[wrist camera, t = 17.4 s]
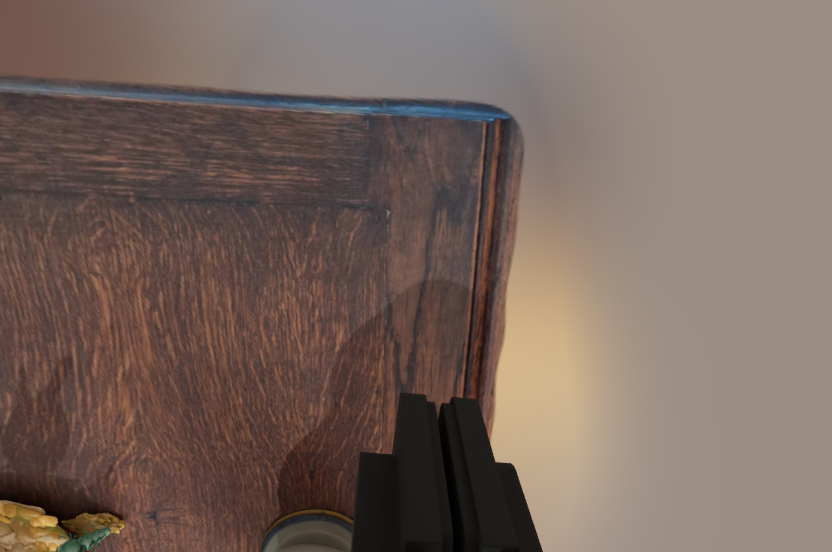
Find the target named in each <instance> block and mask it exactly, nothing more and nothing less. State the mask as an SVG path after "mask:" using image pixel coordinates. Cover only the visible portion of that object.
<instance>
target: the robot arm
mask: <svg viewBox="0 0 832 552" xmlns="http://www.w3.org/2000/svg"><path fill="white" fill-rule="evenodd" d="M350 552H543V551H542V548H541V545H540V542H539V539H538V536H537V533H536V530H535V527H534V524H533V521H532V518H531V514H530V511H529V509H528V506H527V502H526V499H525V496H524V494H523V491H522V487H521V484H520V482H519V479H518V476H517V472H516V470H515V467H514V466H513V465H512V464H511V463H498V462H495V459H494V456H493V452H492V448H491V445H490V441H489V438H488V434H487V431H486V427H485V424H484V420H483V417H482V413H481V410H480V406H479V403H478V400H477V399H469V398H458V397H452V398H451V400H450V404H449V403H442V404H441V407H440V413H439V419H438V420H437V413H436V406H435V402H427V400H426V395H422V394H411V393H400V397H399V404H398V412H397V420H396V427H395V435H394V442H393V450H392V454H379V453H366V452H360V458H359V468H358V477H357V486H356V496H355V506H354V516H353V527H352V538H351V549H350Z"/></svg>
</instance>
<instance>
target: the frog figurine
mask: <svg viewBox="0 0 832 552" xmlns="http://www.w3.org/2000/svg"><path fill="white" fill-rule="evenodd" d="M45 515H46V513H45V511H44V510H43V509H42V508H40V507H36V506H28V505H24V504H19V503H15V502H11V501H7V500H3V501H1V500H0V552H88V551H86V550H87V549H88V550H89V549H90V548H91V547H92V546H93V545H94V544H97V543H98V542H99V541H102V539H104V538H105V537H106V536H108V535H109V534H111V533H120V531H119V530H118V529H122V528H123V527H125V526H124V525H125V522H123V521H121V520H119V519H118V517H115V516H112V515H111V514H109V513H102V514H88V513H83V514H82V515H79V516H76V518H75V519H69V520H65V521H61V522H62V523H63V524H66V525H62V526H63V527H66V528H69V531H71V532H77V533H78V534H80V535H78V534H77V535H78V537H79V539H71V533H69V534H70V538H69V536H68V535H69V534H67V532H66V531H65V530H64V529H62V528H61V527H60V526H58V525H57V523H58V520H57V518H56V517H53V516H47V515H46V516H45ZM74 537H76V535H75V536H74ZM99 546H100V544H98V547H99ZM98 547H97V548H98ZM95 549H96V548H95ZM95 549H94V550H95ZM91 550H92V549H91ZM94 550H92V551H94Z"/></svg>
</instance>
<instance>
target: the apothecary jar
mask: <svg viewBox="0 0 832 552" xmlns="http://www.w3.org/2000/svg"><path fill="white" fill-rule="evenodd" d="M352 527H353V520H351V519H350V518H348V517H346V516H344V515H342V514H340V513H337V512H333V511H328V510H321V509H311V510H303V511H299V512H295V513H292V514H289V515H287V516H285V517H283V518H281V519H280V520H278V521H277V522H276V523H275V524H274V525H273V526H272V527H271V528H270V529H269V530H268V531H267V532H266V534H265V536H264V538H263V540H262V543H261V547H260V552H350V549H351V538H352Z"/></svg>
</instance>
